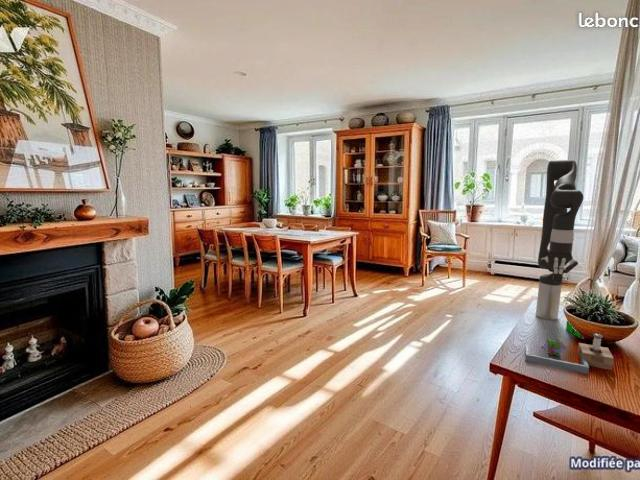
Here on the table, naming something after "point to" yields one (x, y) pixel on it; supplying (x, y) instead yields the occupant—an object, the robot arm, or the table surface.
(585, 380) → the table surface
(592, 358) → the slotted tan block
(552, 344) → the geometric puzzle
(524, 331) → the table surface
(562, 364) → the open frame
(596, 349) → the cylinder
